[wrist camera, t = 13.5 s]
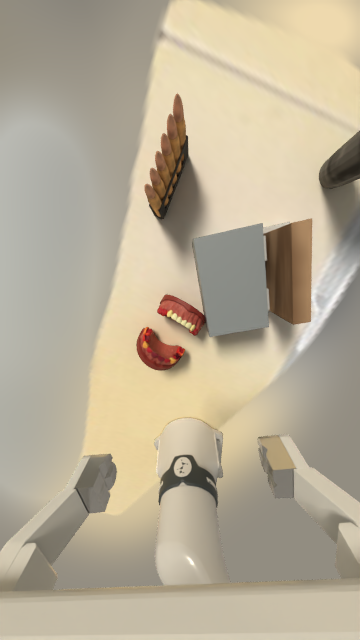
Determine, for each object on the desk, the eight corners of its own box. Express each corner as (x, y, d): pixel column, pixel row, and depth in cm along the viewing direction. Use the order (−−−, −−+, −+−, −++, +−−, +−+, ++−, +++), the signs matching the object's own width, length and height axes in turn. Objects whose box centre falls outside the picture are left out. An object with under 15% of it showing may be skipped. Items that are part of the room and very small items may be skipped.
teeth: (216, 324, 31) (169, 384, 35) (211, 312, 38) (174, 363, 42) (164, 290, 30) (123, 356, 34) (170, 285, 37) (136, 339, 41)
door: (282, 230, 32) (322, 216, 22) (284, 305, 36) (319, 320, 27) (260, 234, 32) (291, 222, 23) (265, 308, 36) (293, 324, 27)
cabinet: (289, 307, 37) (315, 318, 29) (205, 322, 39) (209, 337, 31) (287, 222, 32) (318, 210, 25) (192, 244, 34) (193, 238, 26)
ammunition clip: (163, 219, 33) (150, 197, 22) (154, 215, 33) (136, 190, 21) (188, 154, 30) (189, 88, 18) (178, 149, 30) (172, 78, 18)
